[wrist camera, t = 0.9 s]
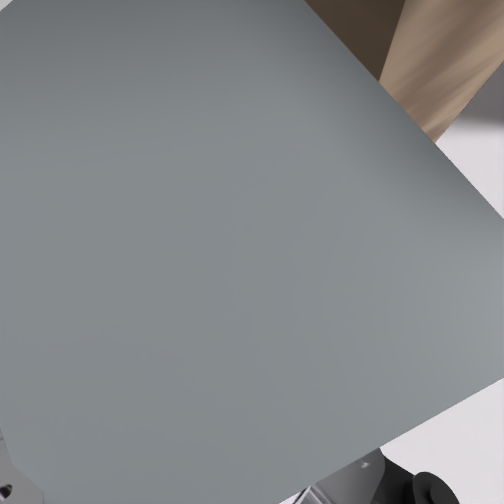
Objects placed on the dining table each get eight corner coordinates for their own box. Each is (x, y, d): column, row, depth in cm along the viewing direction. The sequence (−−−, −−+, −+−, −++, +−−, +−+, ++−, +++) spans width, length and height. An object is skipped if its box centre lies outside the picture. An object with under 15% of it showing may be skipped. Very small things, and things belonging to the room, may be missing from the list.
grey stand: (283, 202, 34) (175, -141, 7) (348, 294, 31) (599, 324, 4) (216, 248, 35) (-110, 106, 8) (273, 341, 32) (66, 622, 5)
